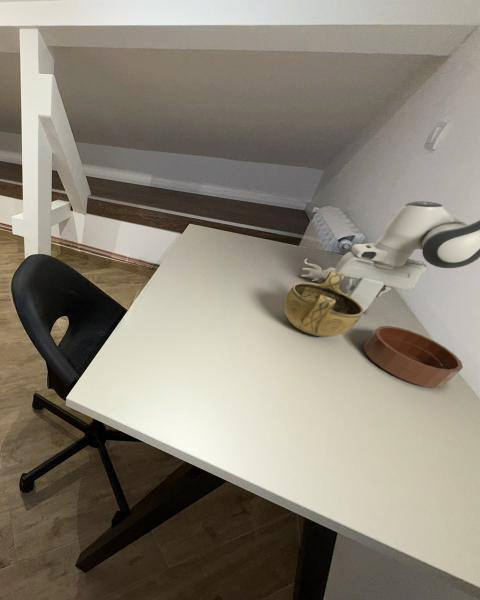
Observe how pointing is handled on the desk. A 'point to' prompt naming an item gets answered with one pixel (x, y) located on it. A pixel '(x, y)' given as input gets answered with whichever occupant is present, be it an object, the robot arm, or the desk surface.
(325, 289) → the ceramic bowl
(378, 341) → the terracotta bowl
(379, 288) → the small box
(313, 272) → the figurine
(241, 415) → the desk surface
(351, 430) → the desk surface
